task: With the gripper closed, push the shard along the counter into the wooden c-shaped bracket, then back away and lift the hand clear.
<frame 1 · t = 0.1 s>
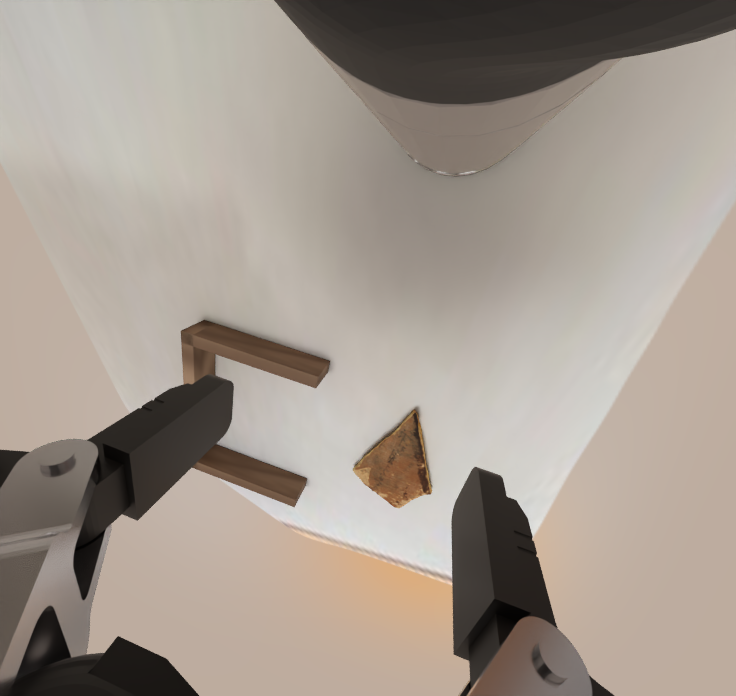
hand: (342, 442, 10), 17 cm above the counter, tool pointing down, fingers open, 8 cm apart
shard: (389, 451, 33), on the counter
wooden c-shaped bracket: (264, 412, 34), on the counter
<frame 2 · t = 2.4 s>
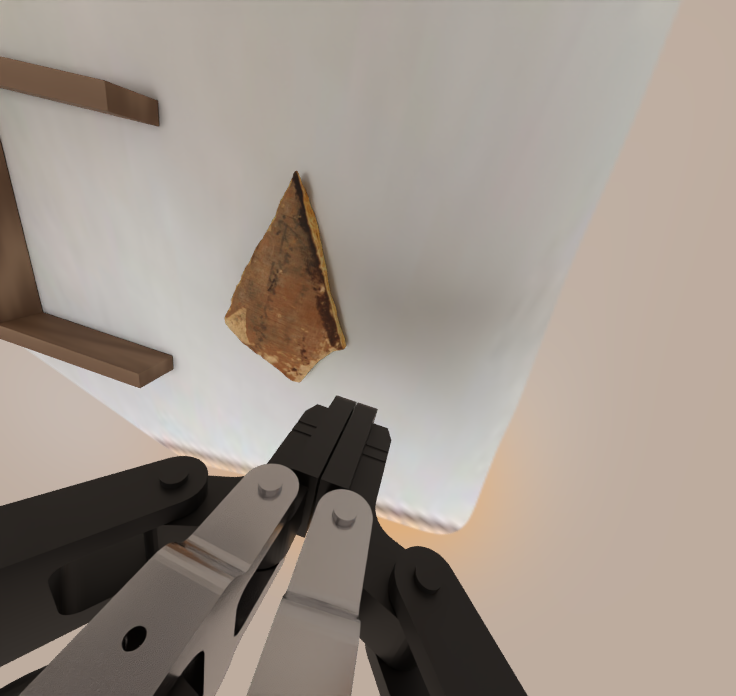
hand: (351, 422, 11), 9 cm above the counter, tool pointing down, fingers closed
shard: (281, 289, 21), on the counter
wooden c-shaped bracket: (90, 236, 22), on the counter
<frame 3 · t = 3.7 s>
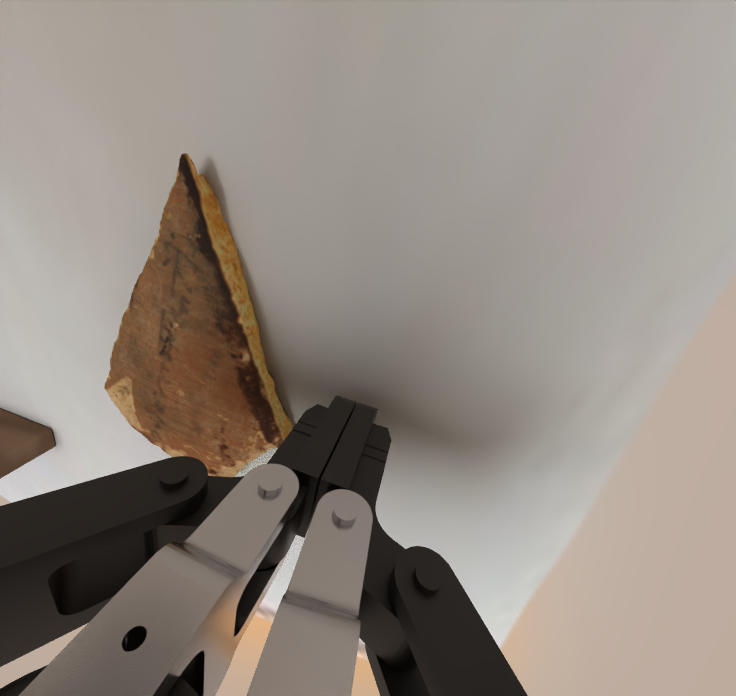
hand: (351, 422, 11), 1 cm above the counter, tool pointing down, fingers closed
shard: (195, 344, 13), on the counter
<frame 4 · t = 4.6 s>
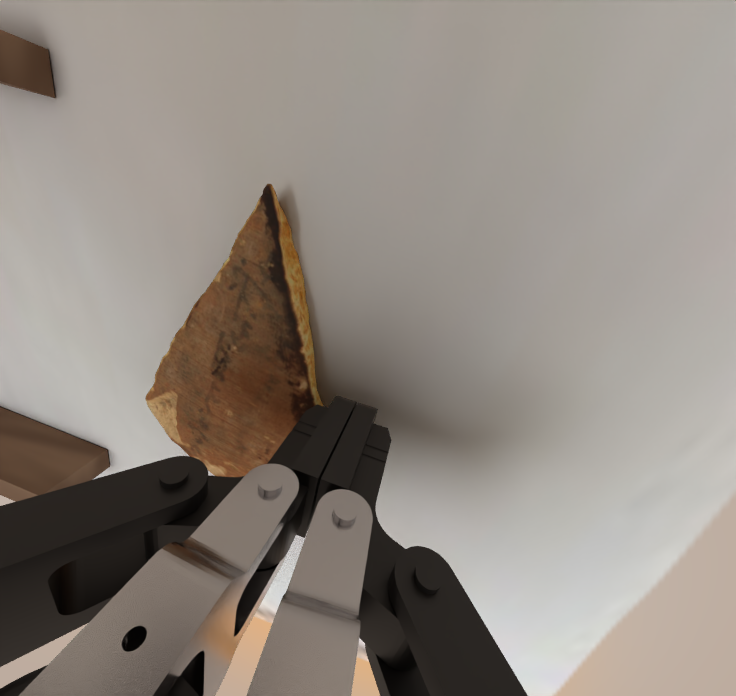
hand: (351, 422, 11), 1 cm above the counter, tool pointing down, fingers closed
shard: (240, 360, 13), on the counter, touching gripper
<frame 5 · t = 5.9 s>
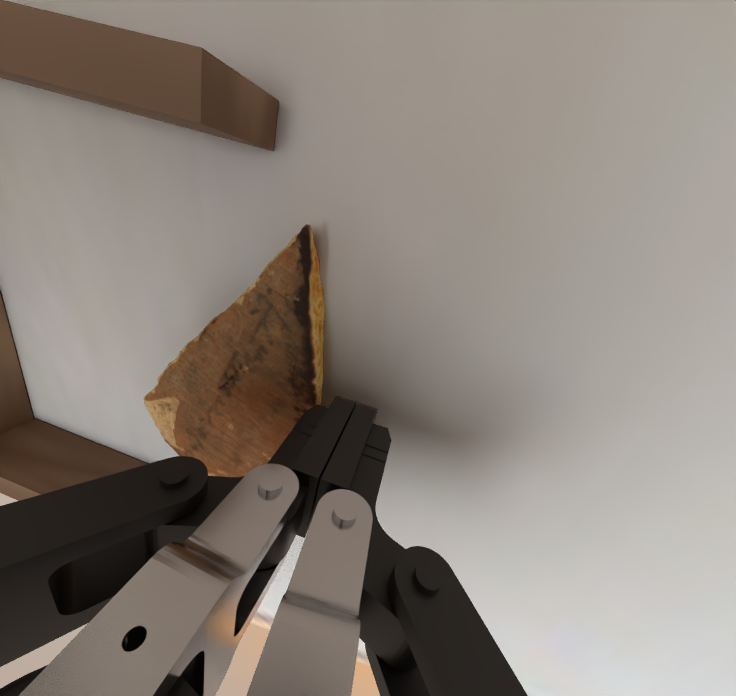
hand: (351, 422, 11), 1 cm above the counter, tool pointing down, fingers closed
shard: (245, 372, 13), on the counter, touching gripper
wooden c-shaped bracket: (118, 323, 13), on the counter
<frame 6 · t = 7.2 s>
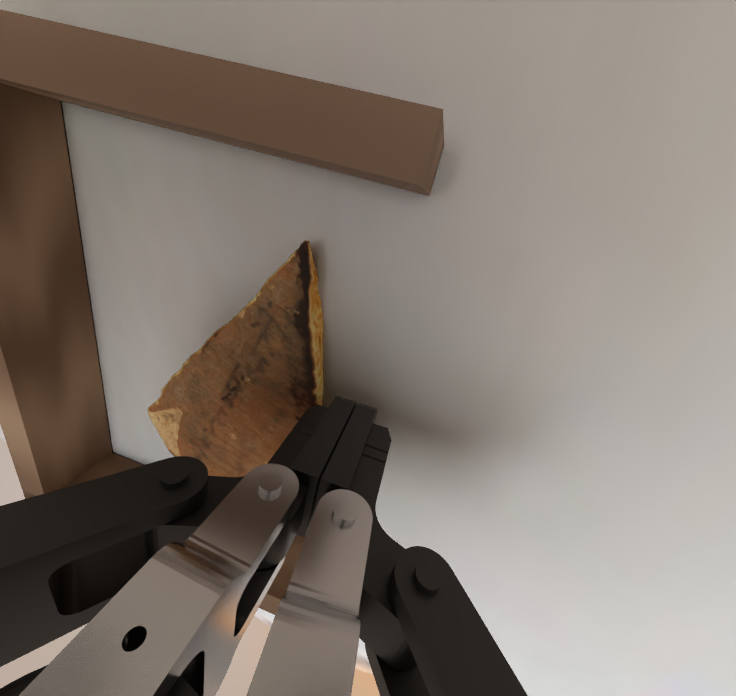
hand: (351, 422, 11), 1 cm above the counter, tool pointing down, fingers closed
shard: (247, 382, 13), on the counter, touching gripper
wooden c-shaped bracket: (222, 363, 12), on the counter
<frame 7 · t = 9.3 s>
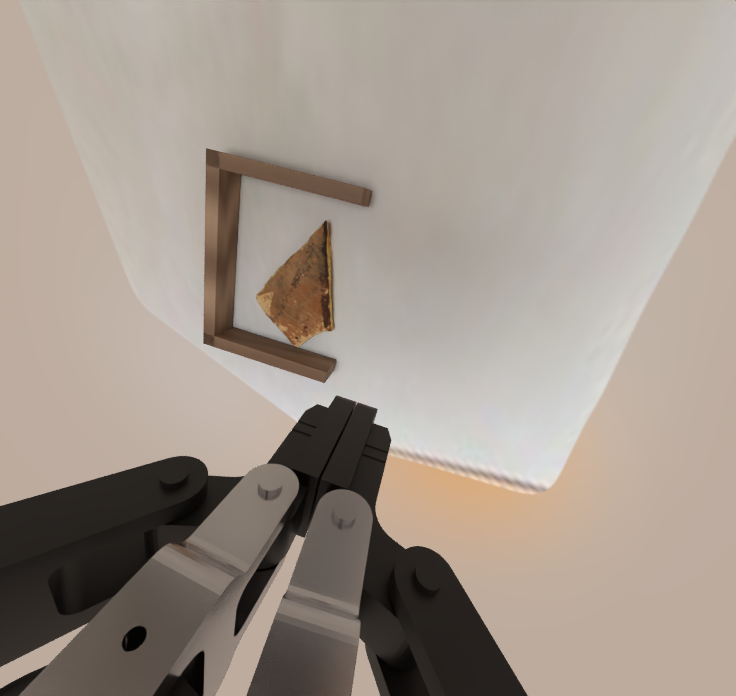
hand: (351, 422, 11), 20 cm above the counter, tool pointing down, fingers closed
shard: (298, 284, 32), on the counter
wooden c-shaped bracket: (292, 274, 31), on the counter
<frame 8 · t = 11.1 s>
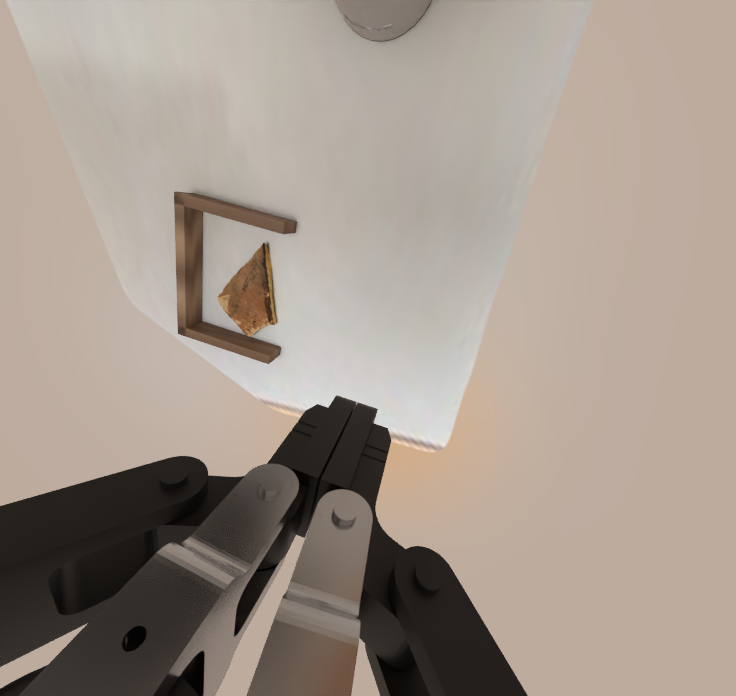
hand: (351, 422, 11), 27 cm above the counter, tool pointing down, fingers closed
shard: (249, 288, 41), on the counter
wooden c-shaped bracket: (244, 281, 40), on the counter
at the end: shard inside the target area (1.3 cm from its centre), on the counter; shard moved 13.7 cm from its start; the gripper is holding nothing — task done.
